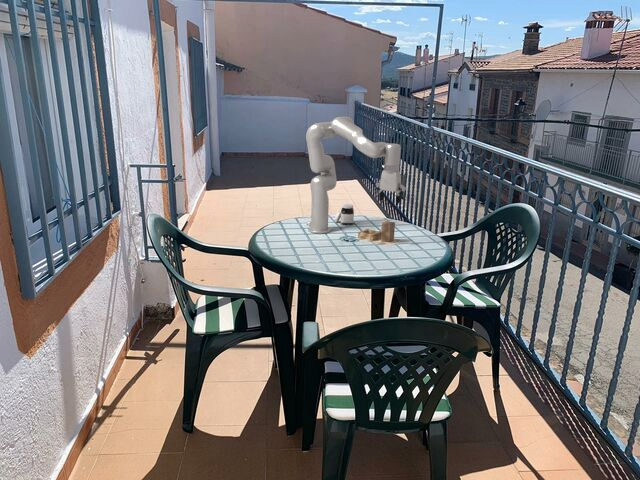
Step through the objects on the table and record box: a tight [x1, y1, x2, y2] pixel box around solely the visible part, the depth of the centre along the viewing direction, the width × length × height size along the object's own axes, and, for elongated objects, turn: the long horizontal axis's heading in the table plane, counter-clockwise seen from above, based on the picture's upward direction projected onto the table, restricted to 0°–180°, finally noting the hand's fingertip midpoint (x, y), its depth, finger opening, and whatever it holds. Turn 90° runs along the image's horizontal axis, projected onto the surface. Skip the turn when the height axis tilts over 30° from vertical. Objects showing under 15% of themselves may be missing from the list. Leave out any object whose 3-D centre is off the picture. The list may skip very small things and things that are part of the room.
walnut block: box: [380, 220, 396, 243], centre depth 264 cm, size 5×5×10 cm
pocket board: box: [354, 228, 404, 247], centre depth 269 cm, size 22×14×4 cm, turn 52°
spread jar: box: [334, 203, 355, 226], centre depth 303 cm, size 12×11×12 cm
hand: (389, 201), depth 260 cm, fingers open, 9 cm apart
